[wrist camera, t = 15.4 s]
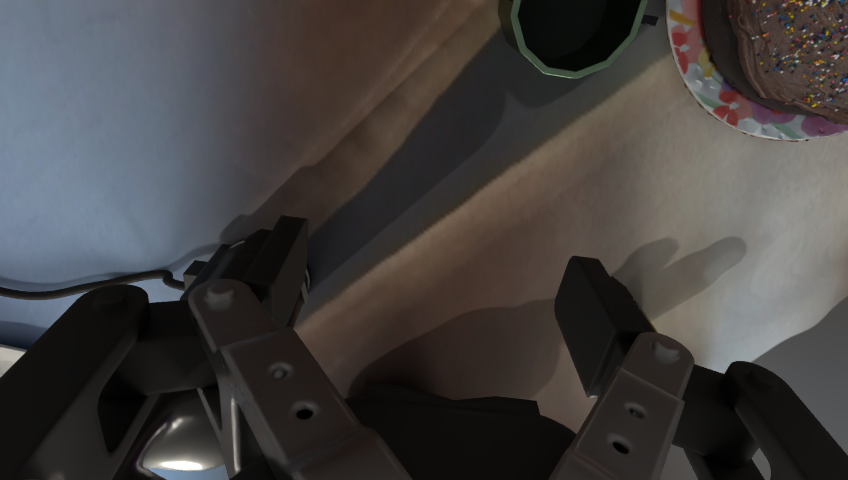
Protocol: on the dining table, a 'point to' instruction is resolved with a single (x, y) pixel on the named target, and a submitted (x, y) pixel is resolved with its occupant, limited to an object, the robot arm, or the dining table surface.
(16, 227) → the dining table surface
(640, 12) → the cooking pot
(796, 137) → the chocolate cake
